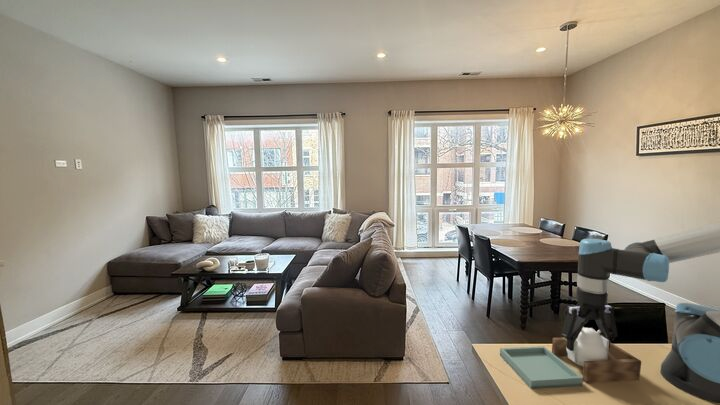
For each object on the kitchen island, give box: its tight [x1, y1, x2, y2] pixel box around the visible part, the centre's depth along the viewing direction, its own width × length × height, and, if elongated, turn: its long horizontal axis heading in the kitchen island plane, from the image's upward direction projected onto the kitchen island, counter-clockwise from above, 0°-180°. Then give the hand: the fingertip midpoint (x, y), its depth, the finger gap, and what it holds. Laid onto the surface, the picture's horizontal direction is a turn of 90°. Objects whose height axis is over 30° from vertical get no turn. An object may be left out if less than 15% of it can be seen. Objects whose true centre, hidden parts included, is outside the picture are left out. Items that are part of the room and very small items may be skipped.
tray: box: [499, 345, 584, 390], centre depth 91 cm, size 16×16×2 cm
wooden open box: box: [551, 336, 642, 384], centre depth 92 cm, size 17×14×6 cm
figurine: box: [566, 326, 607, 368], centre depth 91 cm, size 10×10×12 cm
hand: (587, 358), depth 92 cm, fingers closed on figurine, 10 cm apart
